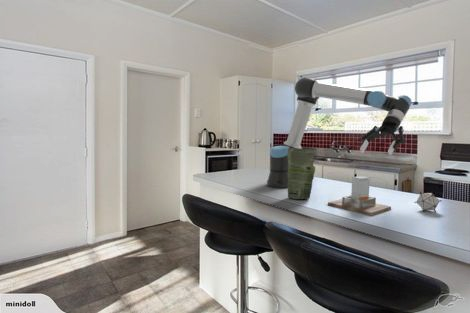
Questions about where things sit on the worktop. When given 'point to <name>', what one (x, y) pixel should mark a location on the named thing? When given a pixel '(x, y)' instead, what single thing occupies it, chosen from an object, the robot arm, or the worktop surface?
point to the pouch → (300, 172)
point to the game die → (427, 201)
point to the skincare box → (360, 188)
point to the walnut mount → (360, 205)
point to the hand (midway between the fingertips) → (374, 152)
